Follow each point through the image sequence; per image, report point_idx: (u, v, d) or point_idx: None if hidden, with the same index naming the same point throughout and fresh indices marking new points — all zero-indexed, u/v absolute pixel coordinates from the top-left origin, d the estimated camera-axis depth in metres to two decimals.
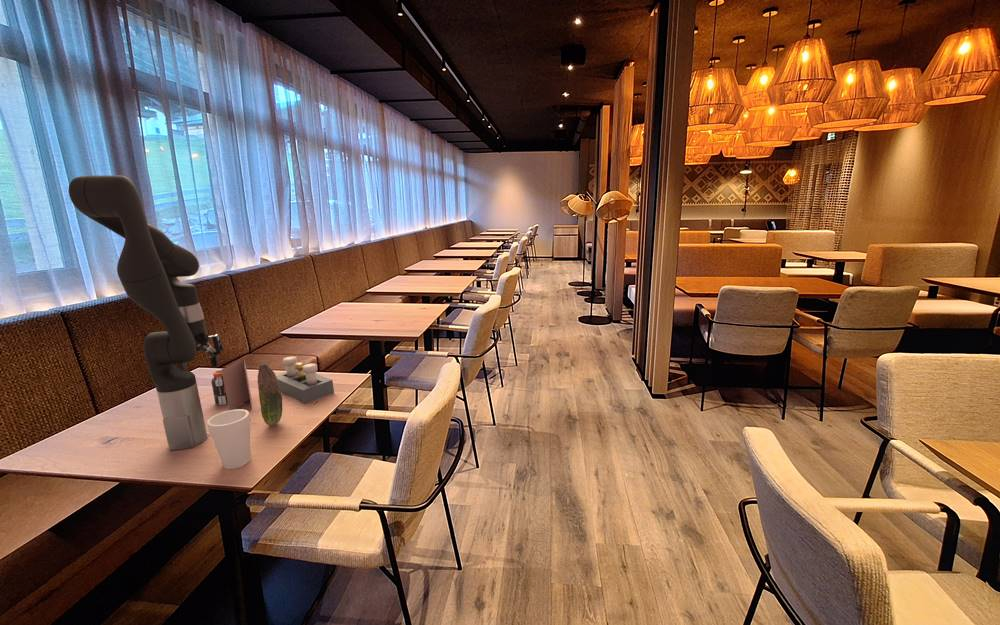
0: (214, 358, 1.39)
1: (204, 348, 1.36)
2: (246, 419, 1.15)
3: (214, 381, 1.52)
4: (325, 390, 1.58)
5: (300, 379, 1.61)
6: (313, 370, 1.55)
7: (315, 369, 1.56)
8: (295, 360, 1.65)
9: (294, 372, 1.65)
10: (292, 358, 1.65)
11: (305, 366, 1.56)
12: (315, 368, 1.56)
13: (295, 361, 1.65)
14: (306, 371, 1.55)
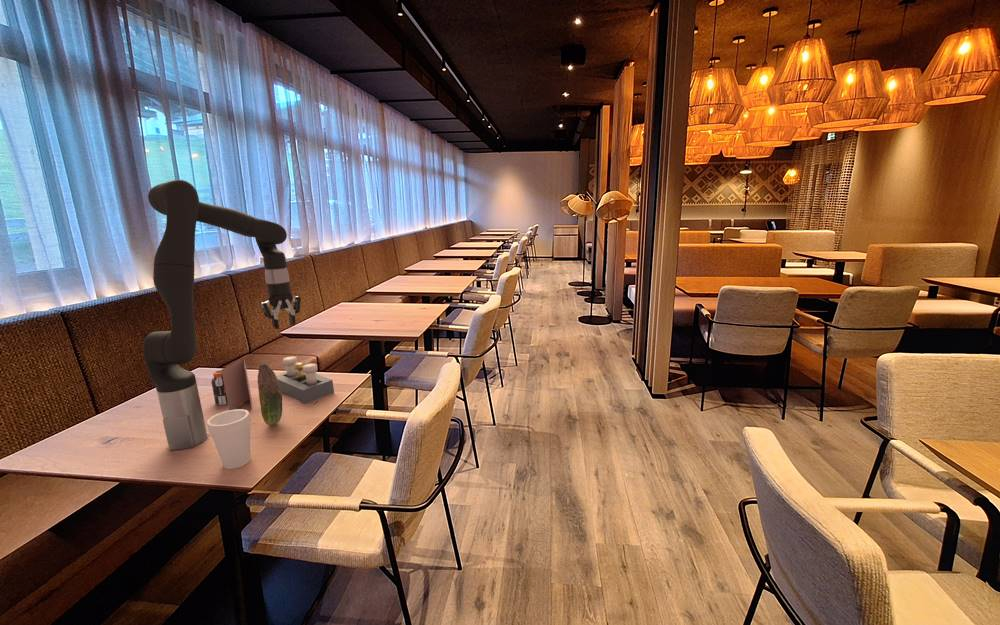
0: (293, 317, 1.64)
1: (291, 306, 1.61)
2: (246, 419, 1.15)
3: (214, 381, 1.52)
4: (325, 390, 1.58)
5: (300, 379, 1.61)
6: (313, 370, 1.55)
7: (315, 369, 1.56)
8: (295, 360, 1.65)
9: (294, 372, 1.65)
10: (292, 358, 1.65)
11: (305, 366, 1.56)
12: (315, 368, 1.56)
13: (295, 361, 1.65)
14: (306, 371, 1.55)
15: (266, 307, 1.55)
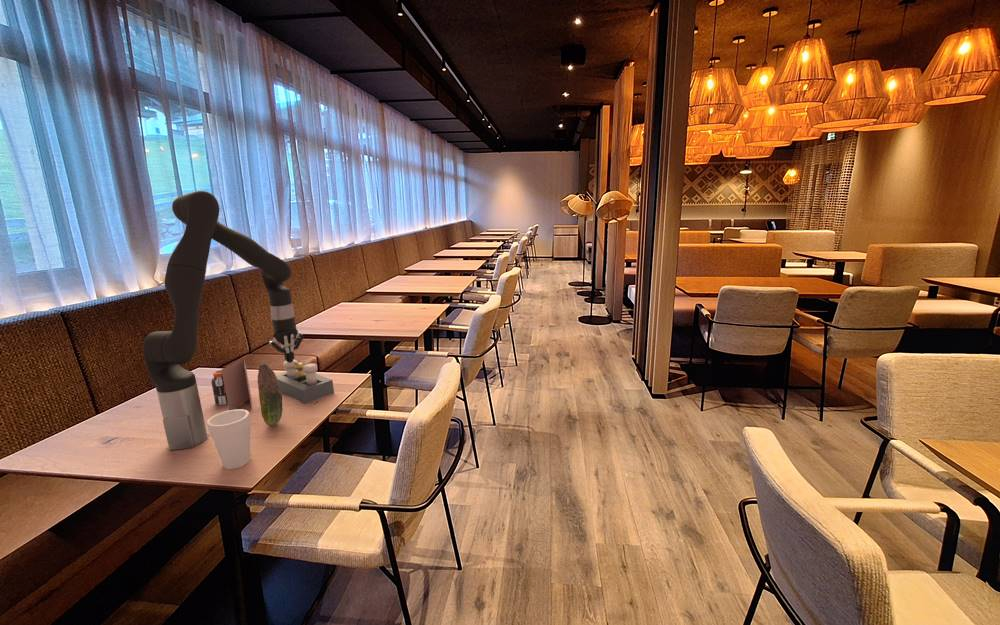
0: (292, 353, 1.65)
1: (293, 342, 1.64)
2: (246, 419, 1.15)
3: (214, 381, 1.52)
4: (325, 390, 1.58)
5: (300, 379, 1.61)
6: (313, 370, 1.55)
7: (315, 369, 1.56)
8: None
9: (294, 375, 1.66)
10: None
11: (305, 366, 1.56)
12: (315, 368, 1.56)
13: None
14: (306, 371, 1.55)
15: (275, 345, 1.59)
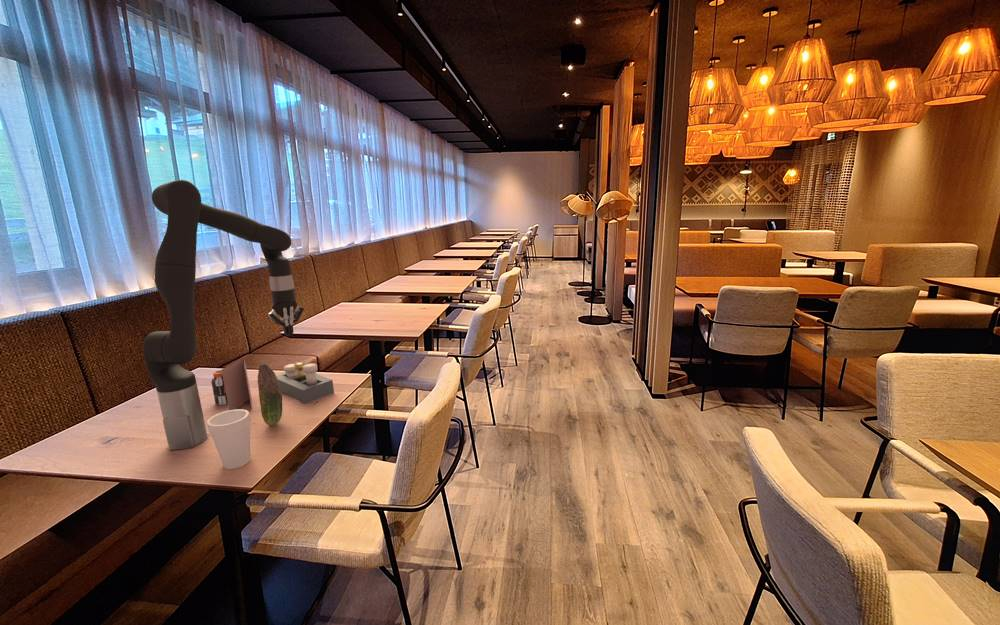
0: (291, 326, 1.60)
1: (292, 315, 1.59)
2: (246, 419, 1.15)
3: (214, 381, 1.52)
4: (325, 390, 1.58)
5: (300, 379, 1.61)
6: (313, 370, 1.55)
7: (315, 369, 1.56)
8: None
9: None
10: (293, 365, 1.66)
11: (305, 366, 1.56)
12: (315, 368, 1.56)
13: None
14: (306, 371, 1.55)
15: (274, 317, 1.55)
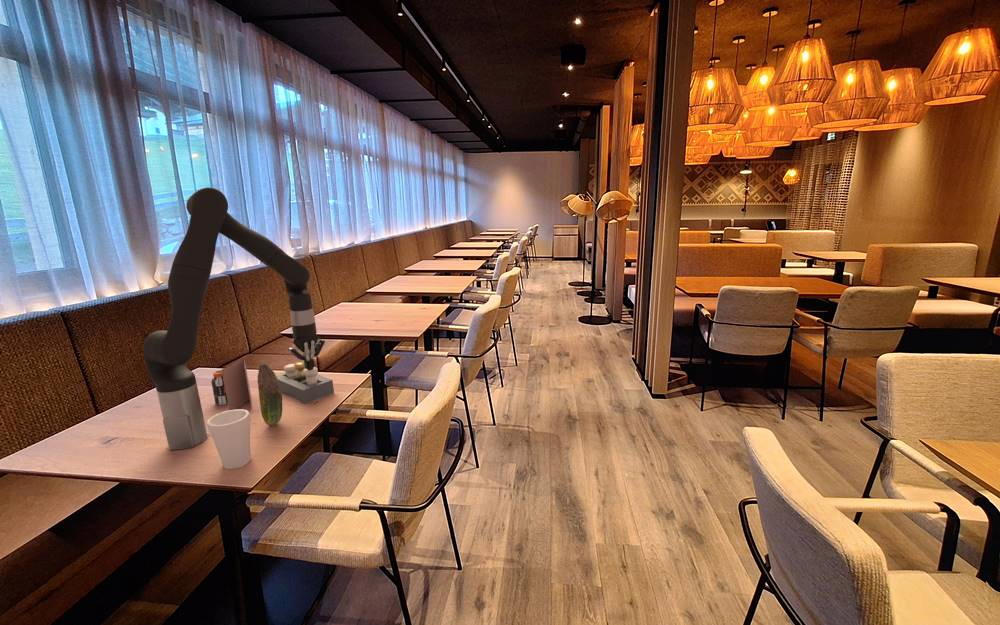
0: (312, 360, 1.56)
1: (313, 349, 1.55)
2: (246, 419, 1.15)
3: (214, 381, 1.52)
4: (325, 390, 1.58)
5: (300, 379, 1.61)
6: (314, 374, 1.56)
7: (316, 373, 1.56)
8: None
9: None
10: (293, 365, 1.66)
11: (306, 370, 1.56)
12: (316, 372, 1.56)
13: None
14: (307, 375, 1.55)
15: (295, 352, 1.51)
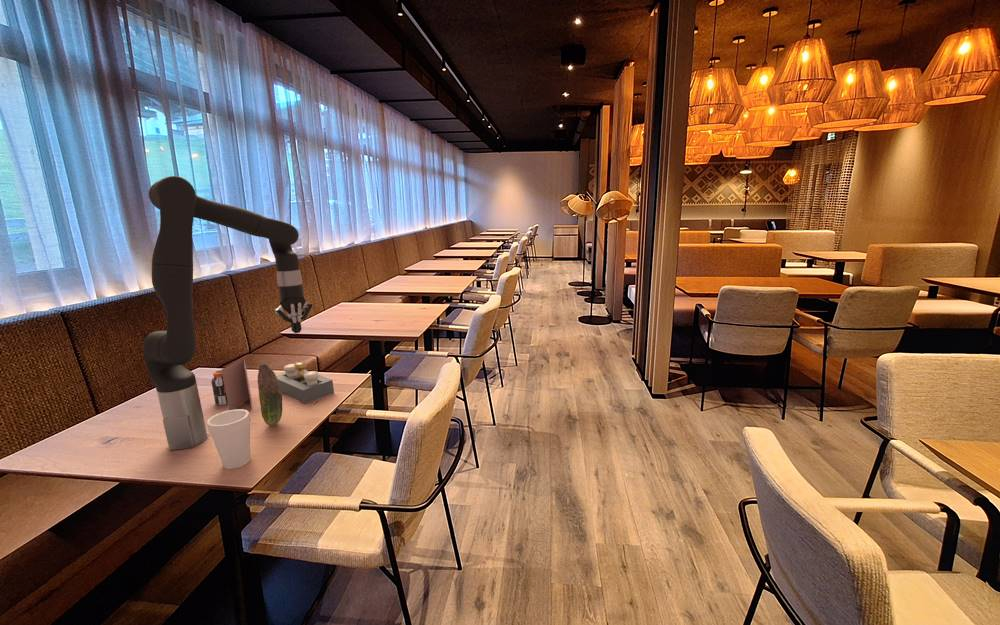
0: (299, 323, 1.55)
1: (300, 312, 1.53)
2: (246, 419, 1.15)
3: (214, 381, 1.52)
4: (325, 390, 1.58)
5: (300, 379, 1.61)
6: (314, 378, 1.56)
7: (316, 377, 1.57)
8: None
9: None
10: (293, 365, 1.66)
11: (306, 374, 1.56)
12: (316, 376, 1.57)
13: None
14: (307, 379, 1.55)
15: (281, 313, 1.49)
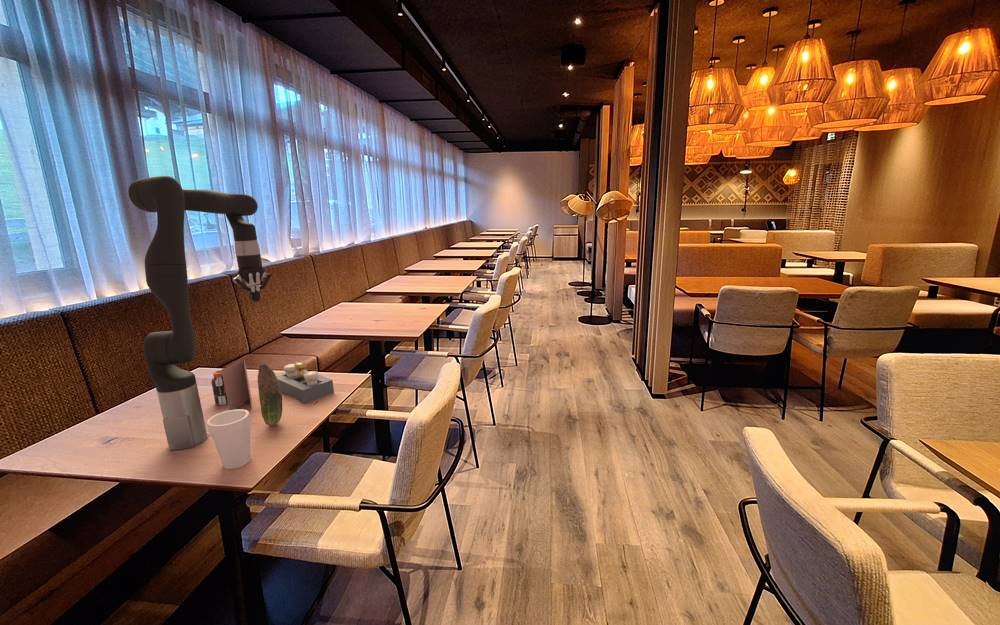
0: (258, 293, 1.60)
1: (258, 281, 1.59)
2: (246, 419, 1.15)
3: (214, 381, 1.52)
4: (325, 390, 1.58)
5: (300, 379, 1.61)
6: (314, 378, 1.56)
7: (316, 377, 1.57)
8: None
9: None
10: (293, 365, 1.66)
11: (306, 374, 1.56)
12: (316, 376, 1.57)
13: None
14: (307, 379, 1.55)
15: (239, 282, 1.54)
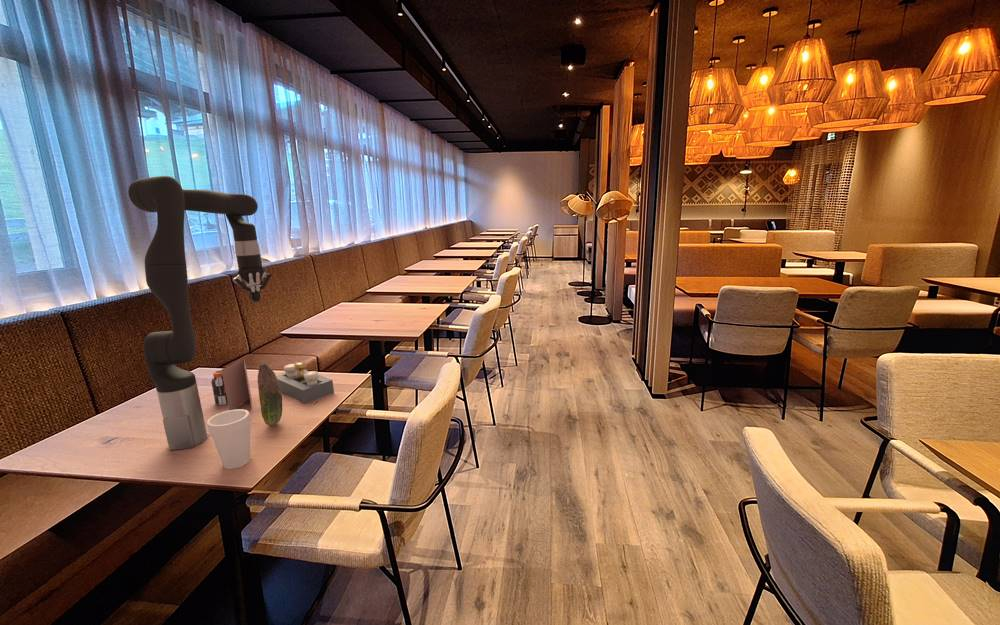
0: (258, 293, 1.60)
1: (258, 281, 1.59)
2: (246, 419, 1.15)
3: (214, 381, 1.52)
4: (325, 390, 1.58)
5: (300, 379, 1.61)
6: (314, 378, 1.56)
7: (316, 377, 1.57)
8: None
9: None
10: (293, 365, 1.66)
11: (306, 374, 1.56)
12: (316, 376, 1.57)
13: None
14: (307, 379, 1.55)
15: (239, 282, 1.54)
